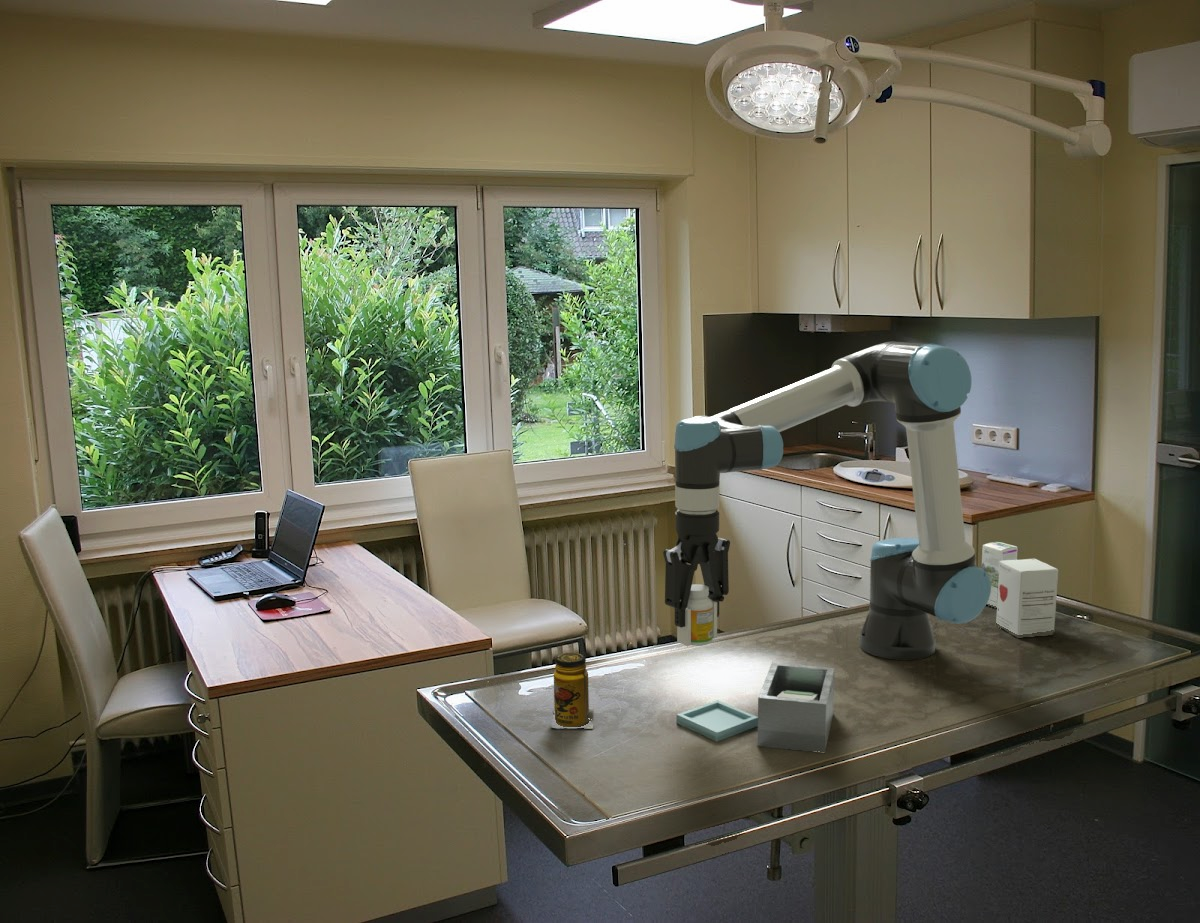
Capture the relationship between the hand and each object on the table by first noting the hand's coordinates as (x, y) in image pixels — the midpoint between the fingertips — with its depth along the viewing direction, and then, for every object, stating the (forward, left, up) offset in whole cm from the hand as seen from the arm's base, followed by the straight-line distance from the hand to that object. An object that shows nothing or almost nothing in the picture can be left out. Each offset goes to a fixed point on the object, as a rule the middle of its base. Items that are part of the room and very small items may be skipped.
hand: (697, 639), depth 193 cm
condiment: (+17, -14, -15) cm, 26 cm away
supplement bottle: (0, 0, -1) cm, 1 cm away
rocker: (-10, +14, -9) cm, 20 cm away
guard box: (-10, +14, -15) cm, 23 cm away
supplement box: (-87, +11, -15) cm, 89 cm away
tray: (-1, +4, -15) cm, 15 cm away
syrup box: (-99, -3, -15) cm, 100 cm away
